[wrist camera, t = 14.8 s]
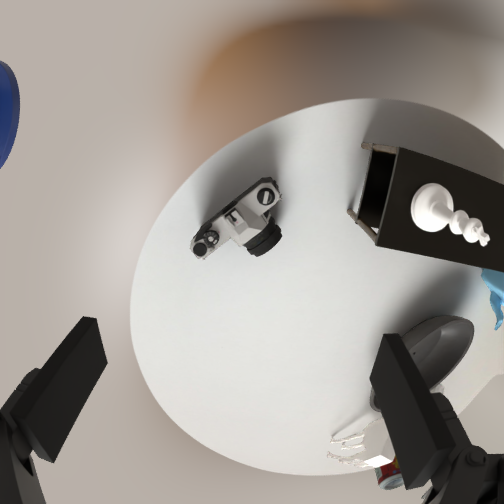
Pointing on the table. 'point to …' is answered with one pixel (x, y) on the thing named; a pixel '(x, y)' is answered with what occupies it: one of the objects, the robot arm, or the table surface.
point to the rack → (400, 198)
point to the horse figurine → (372, 444)
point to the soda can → (389, 475)
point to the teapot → (495, 292)
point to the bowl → (436, 348)
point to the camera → (243, 222)
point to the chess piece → (444, 214)
